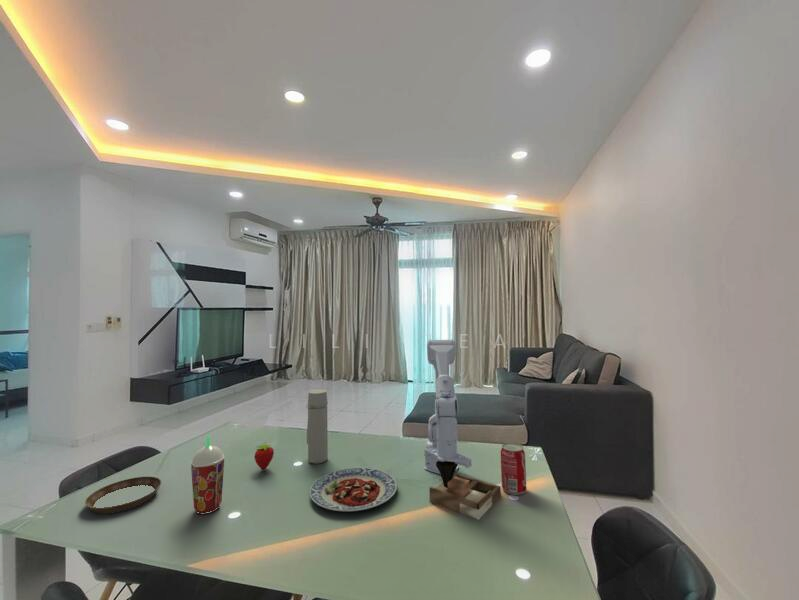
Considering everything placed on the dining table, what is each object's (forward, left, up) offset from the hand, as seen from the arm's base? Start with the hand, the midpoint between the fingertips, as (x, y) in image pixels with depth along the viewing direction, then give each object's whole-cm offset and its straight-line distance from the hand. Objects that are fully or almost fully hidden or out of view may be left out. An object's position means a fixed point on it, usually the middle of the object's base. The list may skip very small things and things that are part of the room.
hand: (447, 486), depth 104 cm
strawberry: (-60, -21, -3) cm, 64 cm away
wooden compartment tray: (+4, +3, -3) cm, 6 cm away
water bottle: (-52, -5, -3) cm, 52 cm away
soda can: (+14, +15, -3) cm, 21 cm away
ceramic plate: (-24, -14, -4) cm, 28 cm away
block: (+3, 0, -1) cm, 4 cm away
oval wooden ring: (-76, -56, -4) cm, 95 cm away
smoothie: (-51, -44, -3) cm, 68 cm away
